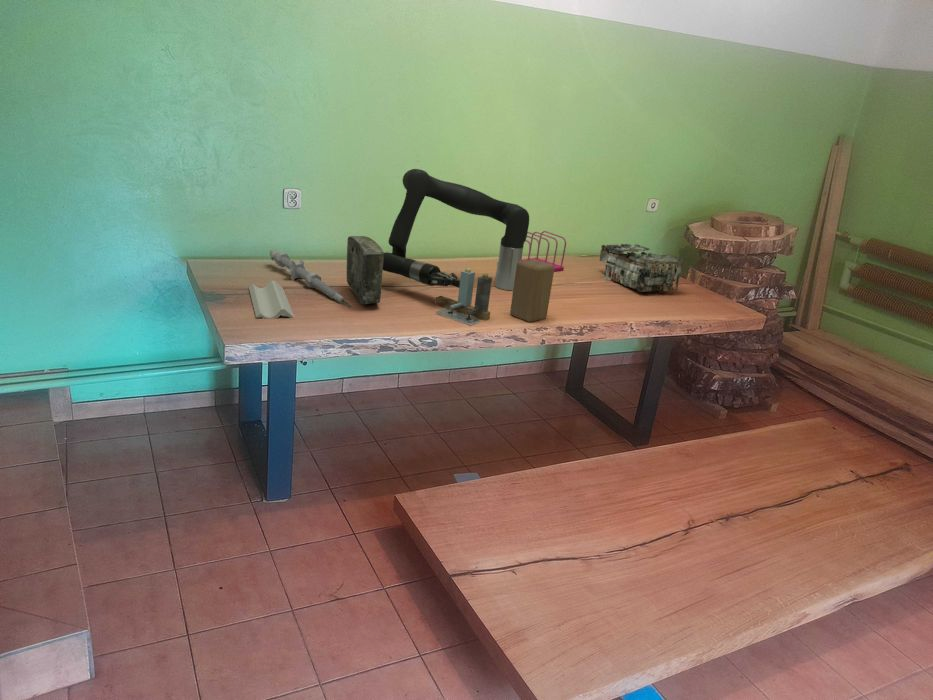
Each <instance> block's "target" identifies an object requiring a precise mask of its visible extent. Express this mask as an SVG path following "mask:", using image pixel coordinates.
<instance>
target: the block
mask: <svg viewBox="0 0 933 700" xmlns="http://www.w3.org/2000/svg"><path fill="white" fill-rule="evenodd" d="M554 274H555V271H554V266H553V265H551V264H548V263H545V262H542V261H539V260H536V259H533V260H526V261H519V262H518V263H517V267H516V274H515V281H514V288H513V290H512V297H511V304H510V311H509V312H510V315H511V316H513V317H516V318H518V319H521V320H523V321H525V322H528V323H533V322H537V321H540V320H545V319H546V318H547V317H548V310H549V306H550V305H549V304H550V298H551V293H552V292H551V291H552V286H553V280H554Z"/></svg>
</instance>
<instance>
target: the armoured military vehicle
mask: <svg viewBox="0 0 933 700" xmlns="http://www.w3.org/2000/svg"><path fill="white" fill-rule="evenodd" d="M650 250H651V249H650V248H649V247H646V246H642V245H640V244H636V243H635V244H634V245H633V246H631V244H630V243H625V244H624V243H621V245H618V244H606V245H605V244H602V245H601V249H600V254H599V261H600V262H603V263H606V264H605V270H604V271H605V272H604V273H605V275H604V276H603V278H602V279H608V281H613V282H615V283H618V284H621V285H623V286H625V287H628V288H632V289H633V290H637V291H638V292H656V291H657V292H659V291H663V292H667V291H678V289H679V280H680V278H681V273H682V272H681V271H682V265H683V260H684V259H683V258H681V257H678V256H675V255H671V254H665V253H658V254H655V253H652V252H649V253H646V252H645V251H650ZM640 251H641V253H638V252H640ZM625 252H626V253H625ZM674 285H675V288H674V287H673V286H674Z"/></svg>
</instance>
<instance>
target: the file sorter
mask: <svg viewBox="0 0 933 700" xmlns="http://www.w3.org/2000/svg"><path fill="white" fill-rule="evenodd" d="M545 233H547V234H545ZM527 234H529V235H531V236H529V235H527V238H530V239H531V240H530V241H529V240H528V239H526V241H525V242H527V243H528V246H529V248H528V254H527V255H528V257H527V258H525V259H524V258H522V260H521V261H526V260H533V259H536V260H539V261H542V262H545V263H548V264H551V265H553V266H554V272H560V271H564V268H565V267H564V266H563V262H564V257H565V253H566V247H567V240H566V238H565V237H564V236H561V235H558V234H556V233H553V232H549V231H547V230H543V231H542V232H538V231H534V232H533V233H532V232H531V231H528V232H527ZM548 234H549V235H548ZM551 235H553V236H555V237H553V236H551ZM543 236H544V237H543ZM535 237H538V238H539V240H538V238H535ZM545 237H547V238H550V239H553V240H554V241H555V249H554V256H553V261H552V262H550V261H548V256H549V251H550V241H549V239H547V238H545ZM556 237H558V238H561V239H563V241H564V247H563V251H562V257H561V262H560V265H559V264H557V263H555V262H556V256H557V252H558V245H559V244H558V242H559V241H558V240H557V239H556ZM533 240H535V241H536V242H537V251H536V252H537V253H536V257H533V258H531V251H532V246H533V245H532V244H533ZM542 240H545V241H546V242H547V249H546V255H545V260H544V259H542V258H539V253H540V247H541V246H540V245H541V241H542Z"/></svg>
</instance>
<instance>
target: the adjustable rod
mask: <svg viewBox="0 0 933 700" xmlns="http://www.w3.org/2000/svg"><path fill="white" fill-rule="evenodd" d="M269 256H270V260H271V261H274V263H275V264H276V265H277V266H279V267H280V268H287V269H286V271H287V272H288V273H289V272H290V274H291V275H290V276H289V277H290V280H291V281H294V280H295V279H302V280H304V283H305V285H306V286H307V287H308V288H312V289H317V290H319V291H320V292H322V293H323V294H324V295H326V296H327V297H329V298H330V299H332V300H334V301H336V302H338V303H339V304H341V305H342V304H345V305H347V306H348V308H351V307H352V304H351V303H348V302H347V301H345V298H344V296H342V295H341V294H340V293H339V292H338V291H337V290H336V289H334V288H332V287H331V286H329V285H328V284H326V283H325V282H323V281H322V277H321V276H320V275H319V274H318V273H317V272H309V269H308V268H306V267H305V266H304V264H305V260H304V259H300V261H294V260H291V258H290V256H289V254H288V253H286V252H284V251H283V252H282V251H279V252H278V250H276V249H271V250H270V251H269Z"/></svg>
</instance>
